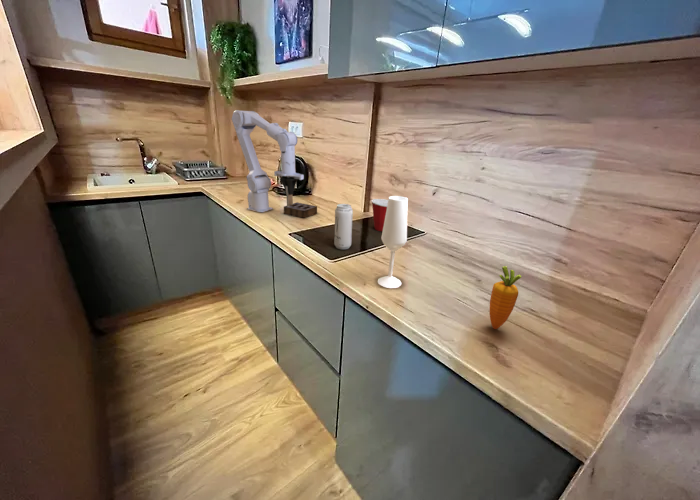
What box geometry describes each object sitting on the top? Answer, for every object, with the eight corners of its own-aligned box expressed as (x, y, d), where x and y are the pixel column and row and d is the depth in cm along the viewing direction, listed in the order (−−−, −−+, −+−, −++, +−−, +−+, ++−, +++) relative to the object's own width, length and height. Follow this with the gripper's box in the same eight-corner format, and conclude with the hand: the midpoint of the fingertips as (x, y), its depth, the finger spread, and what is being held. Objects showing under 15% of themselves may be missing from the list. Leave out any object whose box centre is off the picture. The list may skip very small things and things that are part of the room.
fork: (286, 206, 135) (285, 186, 131) (291, 204, 138) (290, 184, 134) (288, 206, 134) (287, 186, 131) (293, 205, 137) (292, 185, 134)
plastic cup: (396, 234, 122) (399, 205, 118) (369, 233, 122) (371, 203, 118) (393, 225, 132) (396, 198, 127) (368, 224, 132) (370, 197, 128)
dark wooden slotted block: (283, 213, 142) (283, 206, 140) (297, 209, 150) (296, 202, 149) (304, 218, 137) (304, 210, 135) (317, 213, 145) (317, 206, 143)
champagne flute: (406, 285, 84) (417, 200, 75) (386, 290, 81) (395, 202, 72) (392, 274, 89) (400, 194, 80) (373, 279, 86) (379, 196, 77)
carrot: (511, 335, 65) (530, 274, 60) (489, 336, 65) (506, 274, 59) (499, 321, 70) (515, 263, 64) (478, 322, 70) (493, 263, 64)
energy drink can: (332, 244, 109) (332, 203, 103) (347, 242, 111) (349, 202, 105) (337, 250, 104) (338, 208, 98) (353, 249, 106) (355, 207, 100)
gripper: (268, 161, 128) (270, 193, 134) (296, 165, 122) (297, 198, 128) (279, 160, 134) (281, 190, 139) (306, 163, 128) (306, 195, 133)
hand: (289, 194), depth 134 cm, fingers closed on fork, 1 cm apart
